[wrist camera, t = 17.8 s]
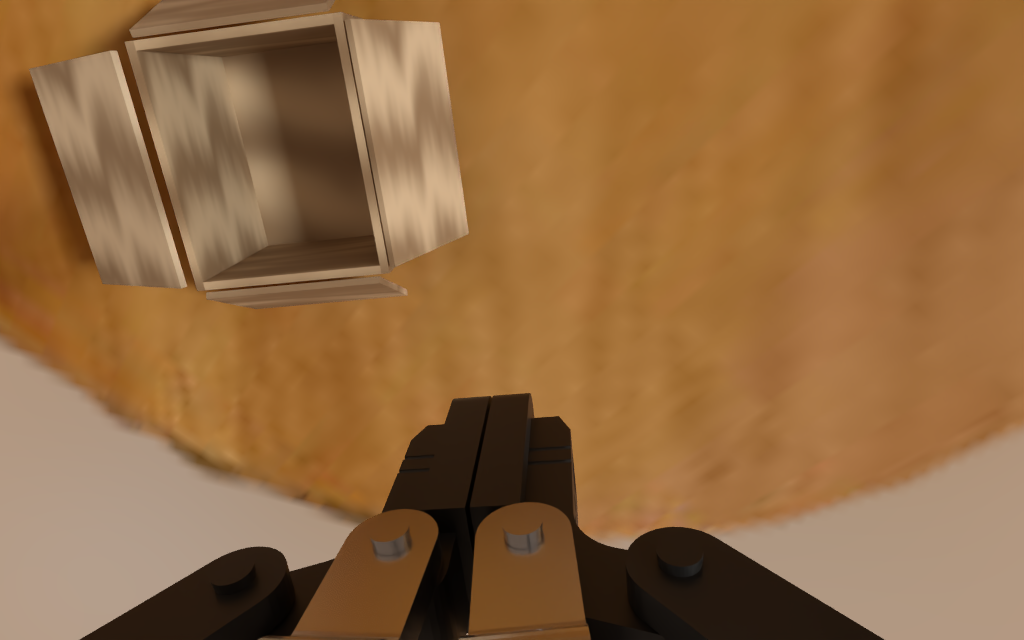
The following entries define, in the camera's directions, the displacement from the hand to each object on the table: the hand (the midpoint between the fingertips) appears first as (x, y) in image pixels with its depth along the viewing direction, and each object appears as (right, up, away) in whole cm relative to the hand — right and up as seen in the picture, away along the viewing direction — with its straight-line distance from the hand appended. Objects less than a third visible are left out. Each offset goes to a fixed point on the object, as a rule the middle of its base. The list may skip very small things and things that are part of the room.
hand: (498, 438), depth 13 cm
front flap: (-20, +10, +24) cm, 33 cm away
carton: (-11, +15, +33) cm, 38 cm away
